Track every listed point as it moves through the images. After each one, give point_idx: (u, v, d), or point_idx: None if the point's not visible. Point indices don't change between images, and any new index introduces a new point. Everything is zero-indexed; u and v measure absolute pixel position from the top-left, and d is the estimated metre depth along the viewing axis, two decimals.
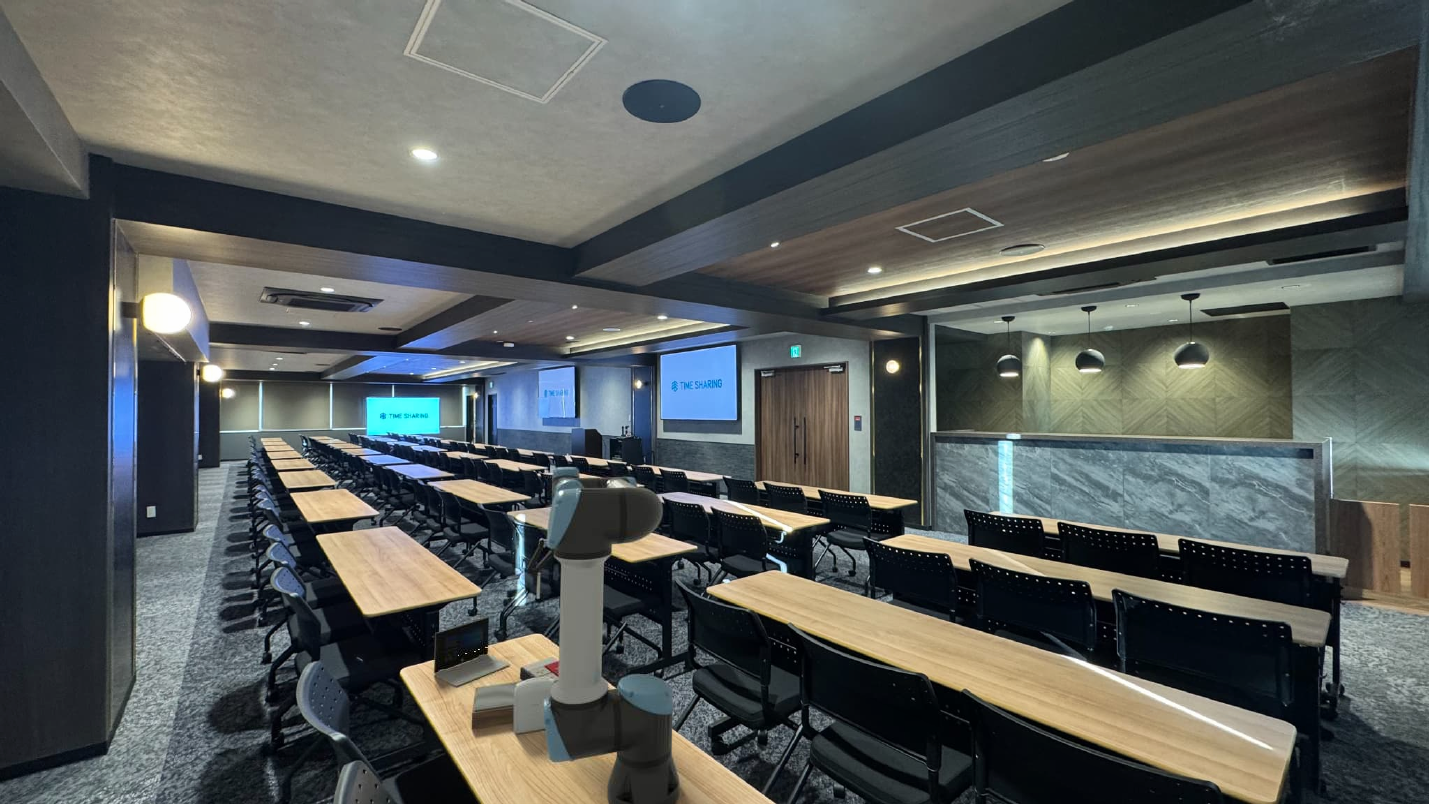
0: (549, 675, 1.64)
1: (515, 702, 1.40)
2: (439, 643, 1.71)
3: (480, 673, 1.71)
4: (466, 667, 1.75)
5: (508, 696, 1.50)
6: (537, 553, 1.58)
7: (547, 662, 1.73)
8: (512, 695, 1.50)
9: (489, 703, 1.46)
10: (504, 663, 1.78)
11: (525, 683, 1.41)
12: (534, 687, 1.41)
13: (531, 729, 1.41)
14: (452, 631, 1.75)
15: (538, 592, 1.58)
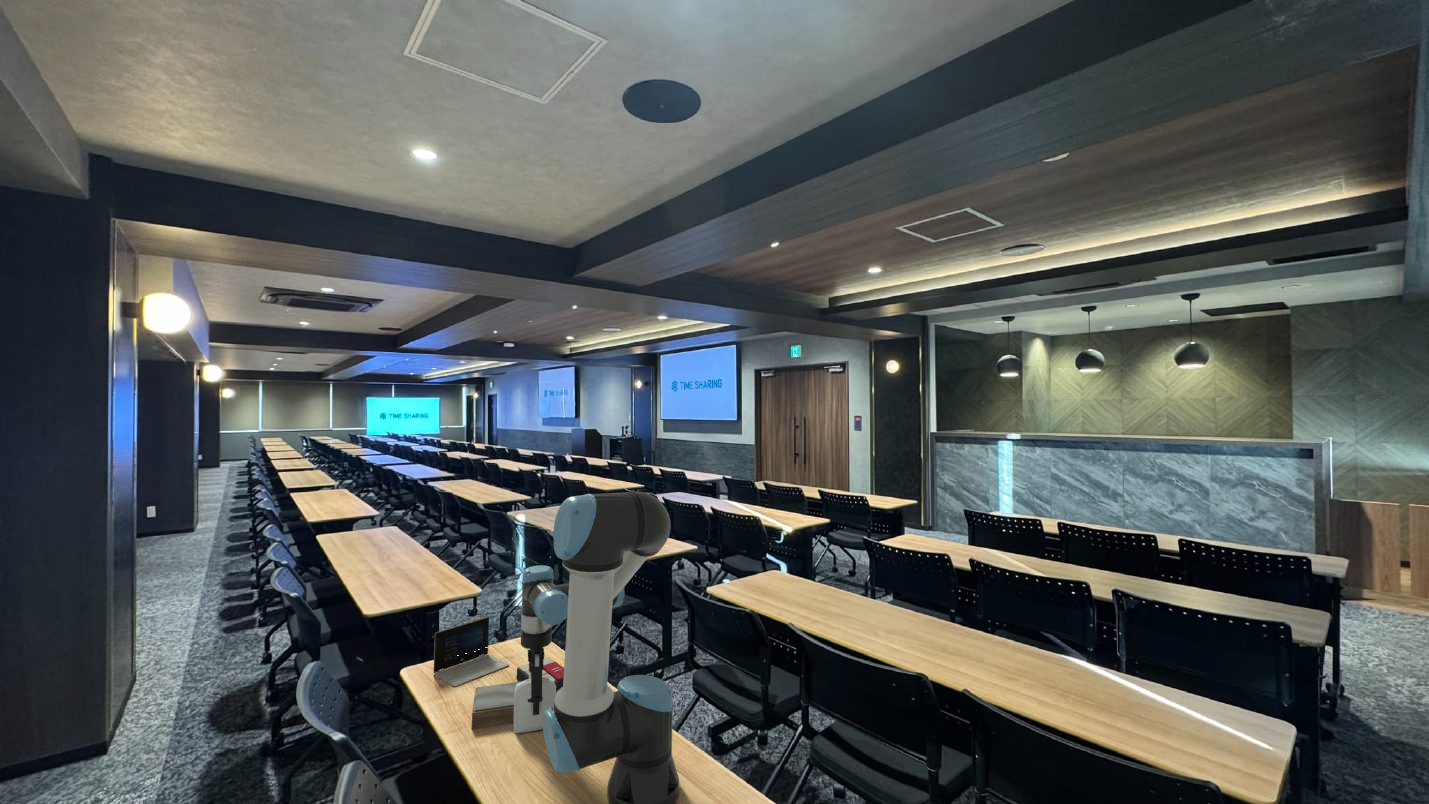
0: (545, 676, 1.64)
1: (515, 702, 1.40)
2: (439, 643, 1.72)
3: (479, 673, 1.71)
4: (466, 667, 1.75)
5: (508, 696, 1.50)
6: None
7: (544, 662, 1.72)
8: (512, 695, 1.50)
9: (489, 703, 1.46)
10: (503, 663, 1.78)
11: (525, 683, 1.41)
12: None
13: (531, 729, 1.41)
14: (452, 631, 1.75)
15: None
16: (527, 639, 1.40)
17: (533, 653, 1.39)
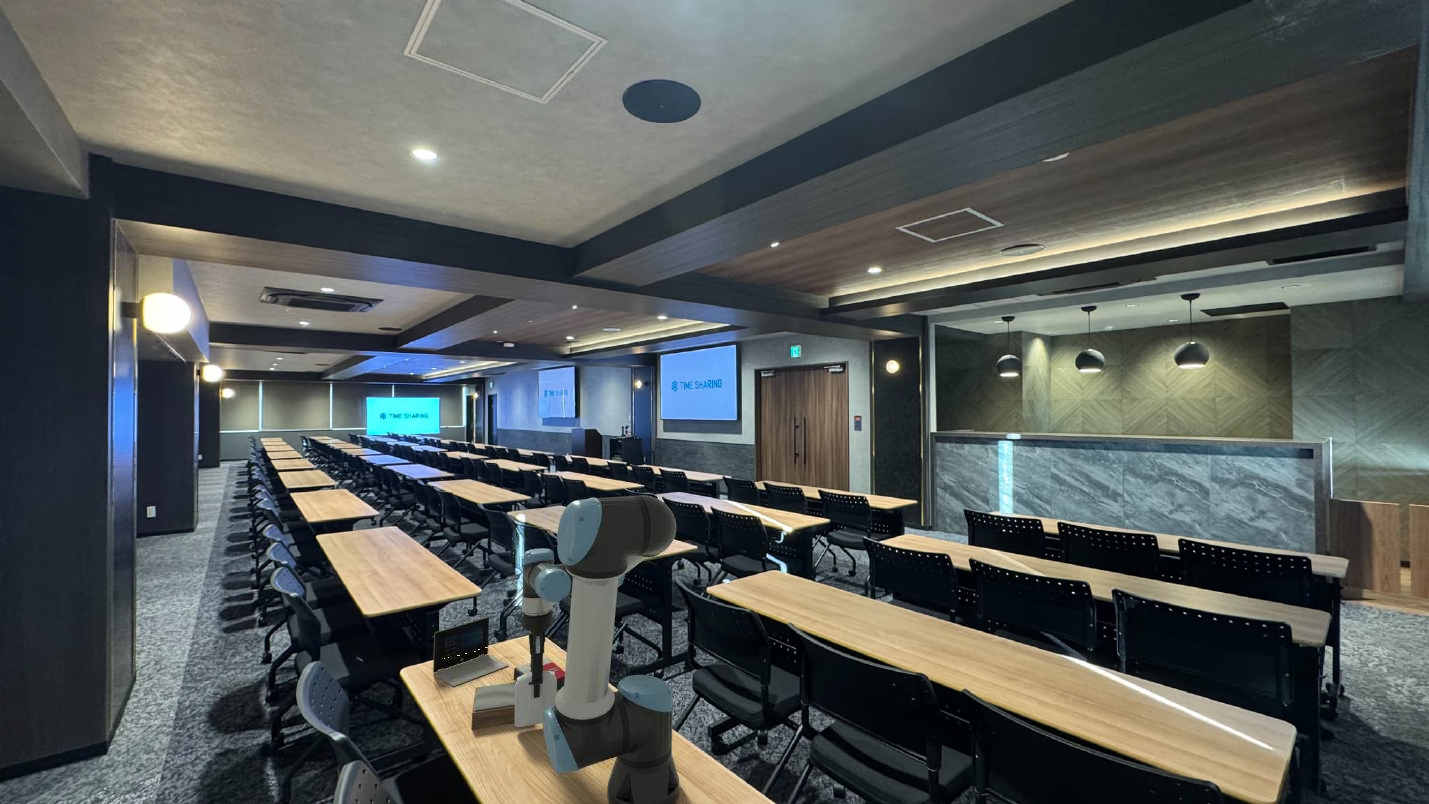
0: None
1: (516, 696, 1.40)
2: (438, 642, 1.72)
3: (478, 673, 1.71)
4: (465, 667, 1.75)
5: (508, 696, 1.50)
6: None
7: None
8: (512, 695, 1.50)
9: (489, 703, 1.46)
10: (503, 663, 1.78)
11: (526, 676, 1.41)
12: None
13: (532, 723, 1.40)
14: (451, 631, 1.75)
15: None
16: (528, 621, 1.40)
17: (534, 635, 1.40)
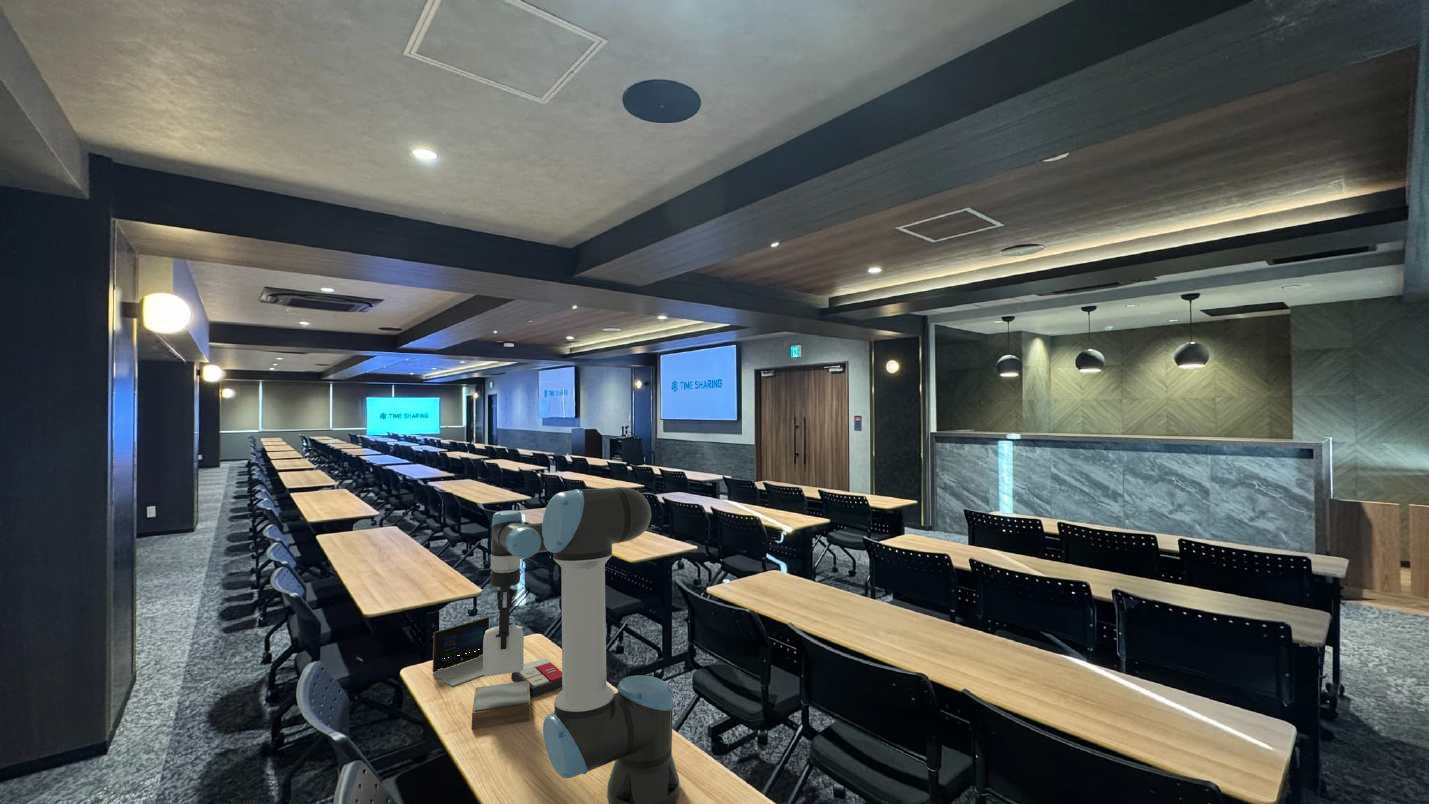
0: (538, 677, 1.63)
1: (484, 647, 1.48)
2: (438, 642, 1.72)
3: (477, 673, 1.71)
4: (465, 667, 1.75)
5: (508, 696, 1.50)
6: None
7: (539, 663, 1.72)
8: (512, 695, 1.50)
9: (489, 703, 1.46)
10: None
11: (494, 629, 1.49)
12: None
13: (499, 672, 1.49)
14: (451, 630, 1.75)
15: None
16: (495, 577, 1.48)
17: (501, 591, 1.48)
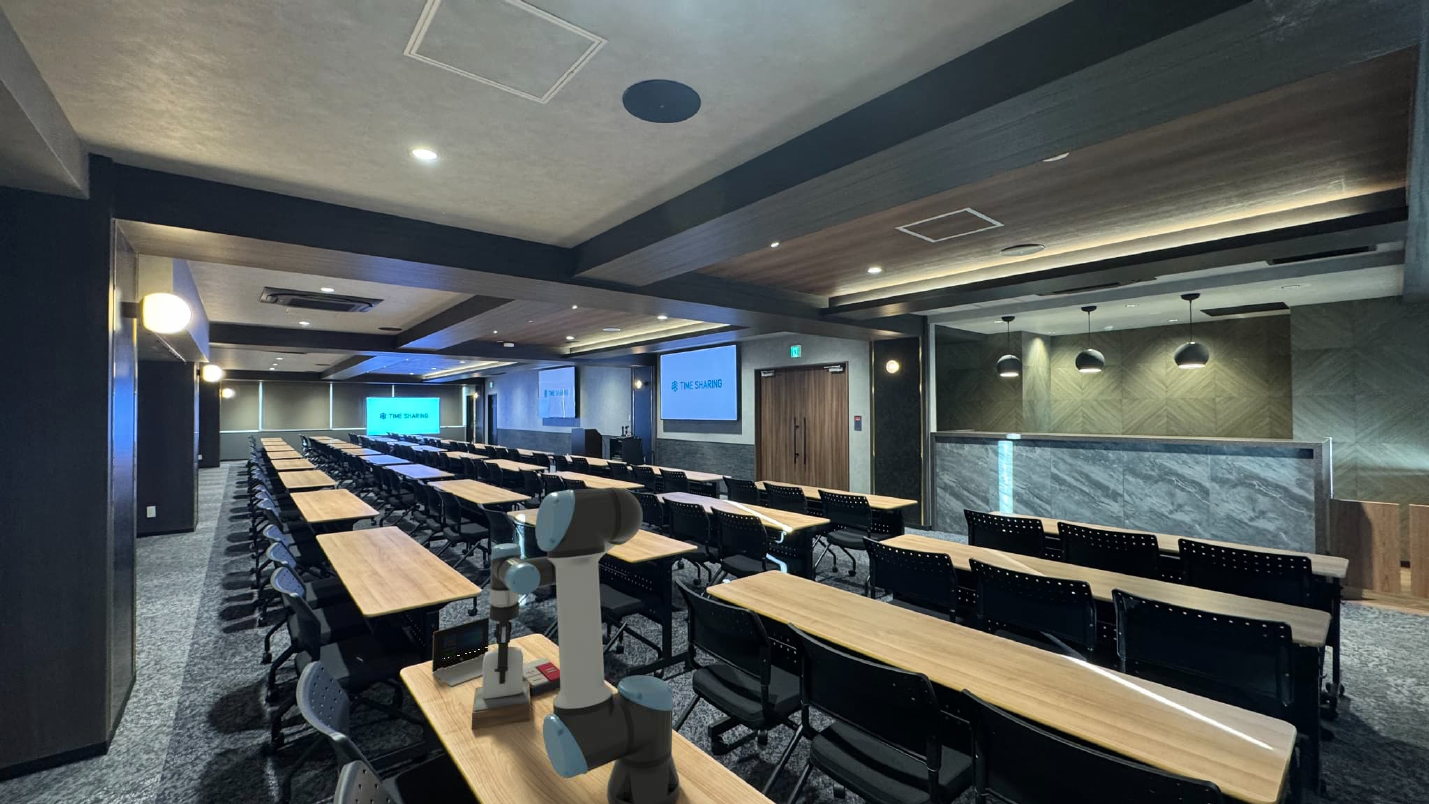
0: (538, 676, 1.64)
1: (484, 669, 1.48)
2: (437, 642, 1.72)
3: (477, 673, 1.71)
4: (464, 667, 1.75)
5: (508, 696, 1.50)
6: None
7: (539, 663, 1.72)
8: (512, 695, 1.50)
9: (489, 703, 1.46)
10: None
11: (493, 652, 1.49)
12: None
13: (499, 695, 1.49)
14: (451, 630, 1.75)
15: None
16: (494, 612, 1.48)
17: (500, 625, 1.47)
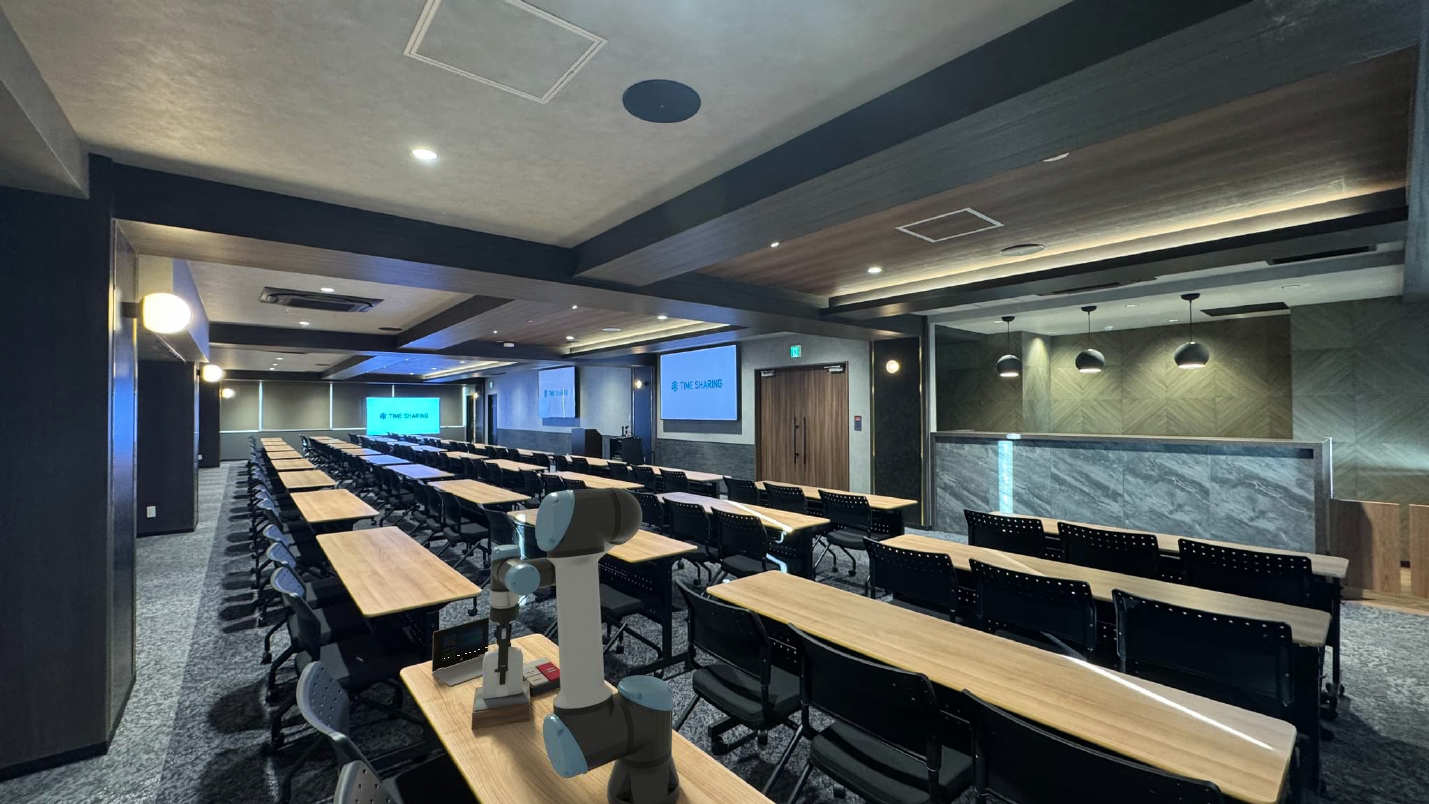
0: (538, 676, 1.64)
1: (484, 669, 1.48)
2: (437, 642, 1.72)
3: (476, 673, 1.71)
4: (464, 666, 1.75)
5: (508, 696, 1.50)
6: None
7: (539, 663, 1.72)
8: (512, 695, 1.50)
9: (489, 703, 1.46)
10: None
11: (493, 652, 1.49)
12: None
13: None
14: (451, 630, 1.75)
15: None
16: (494, 613, 1.48)
17: (500, 626, 1.47)
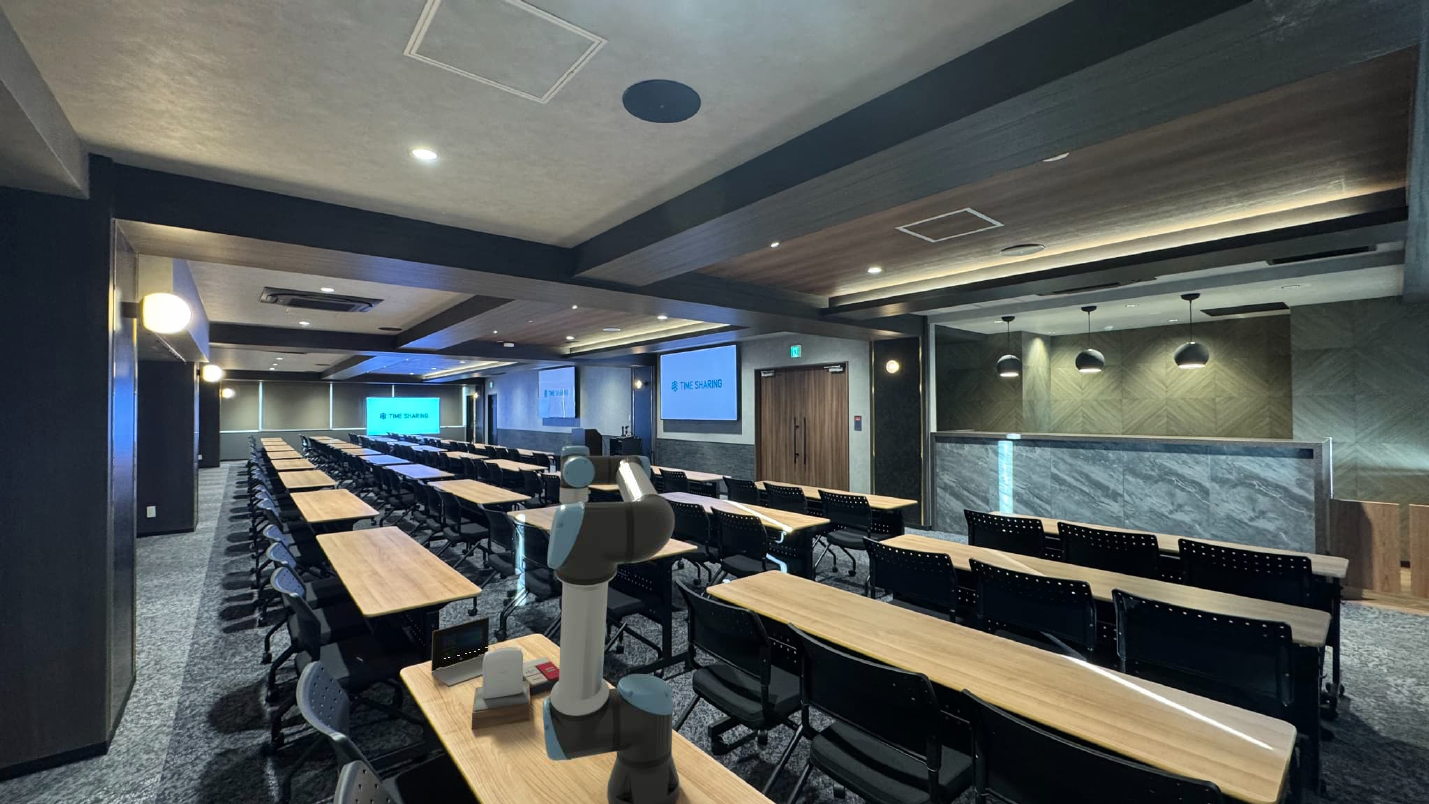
0: (537, 675, 1.64)
1: (484, 669, 1.48)
2: (437, 641, 1.73)
3: (475, 673, 1.71)
4: (463, 666, 1.75)
5: (508, 696, 1.50)
6: None
7: (539, 662, 1.72)
8: (512, 695, 1.50)
9: (489, 703, 1.46)
10: None
11: (493, 652, 1.50)
12: (502, 655, 1.49)
13: (499, 695, 1.49)
14: (450, 630, 1.76)
15: None
16: None
17: None
